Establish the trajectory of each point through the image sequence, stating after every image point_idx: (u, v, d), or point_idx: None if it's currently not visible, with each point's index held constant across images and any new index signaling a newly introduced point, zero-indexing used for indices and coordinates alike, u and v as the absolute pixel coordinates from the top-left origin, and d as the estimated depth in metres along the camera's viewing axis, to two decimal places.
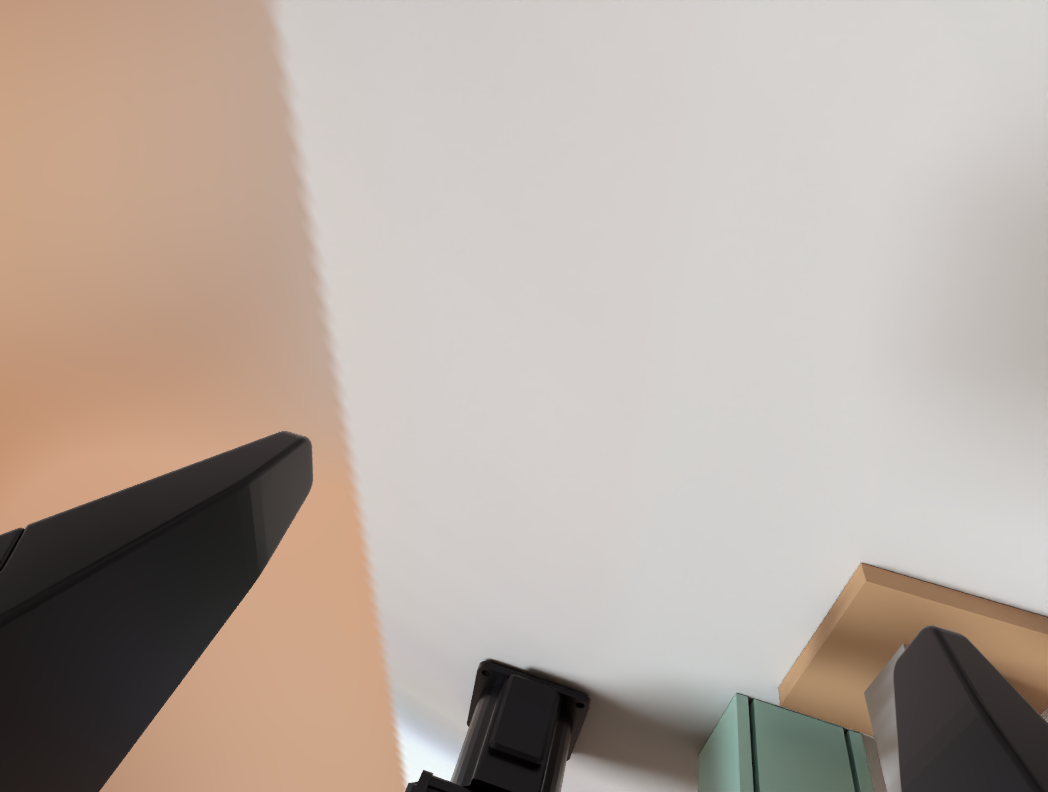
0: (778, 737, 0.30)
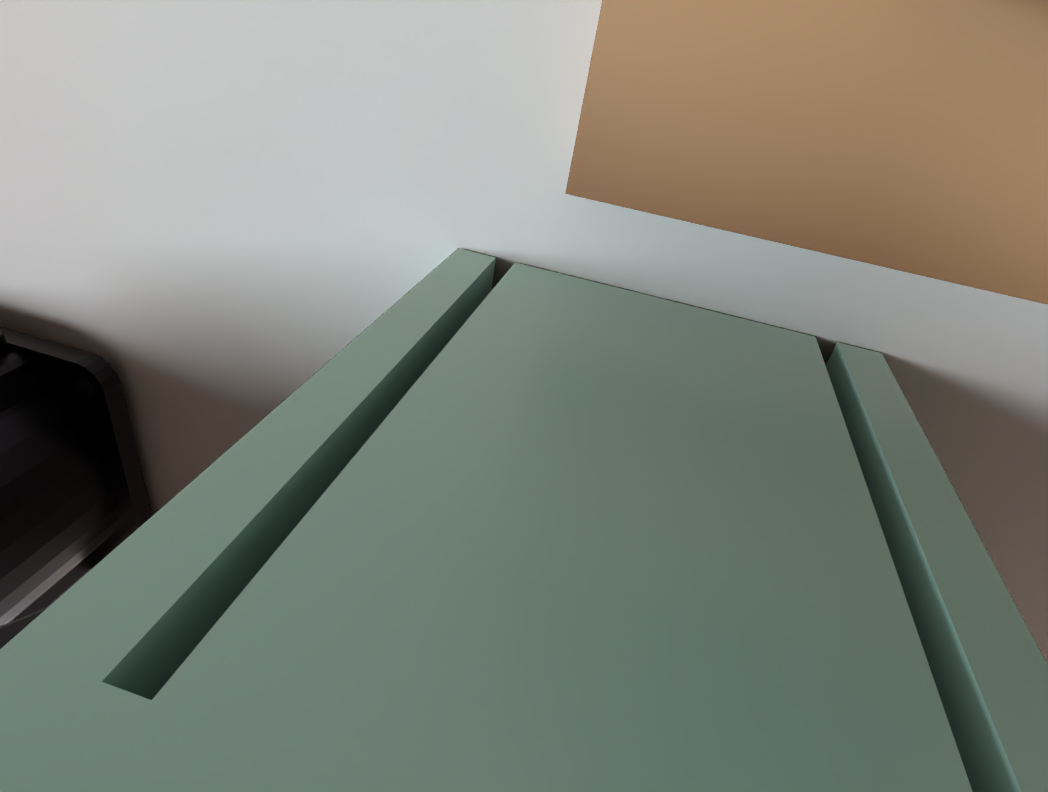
0: (562, 325, 0.08)
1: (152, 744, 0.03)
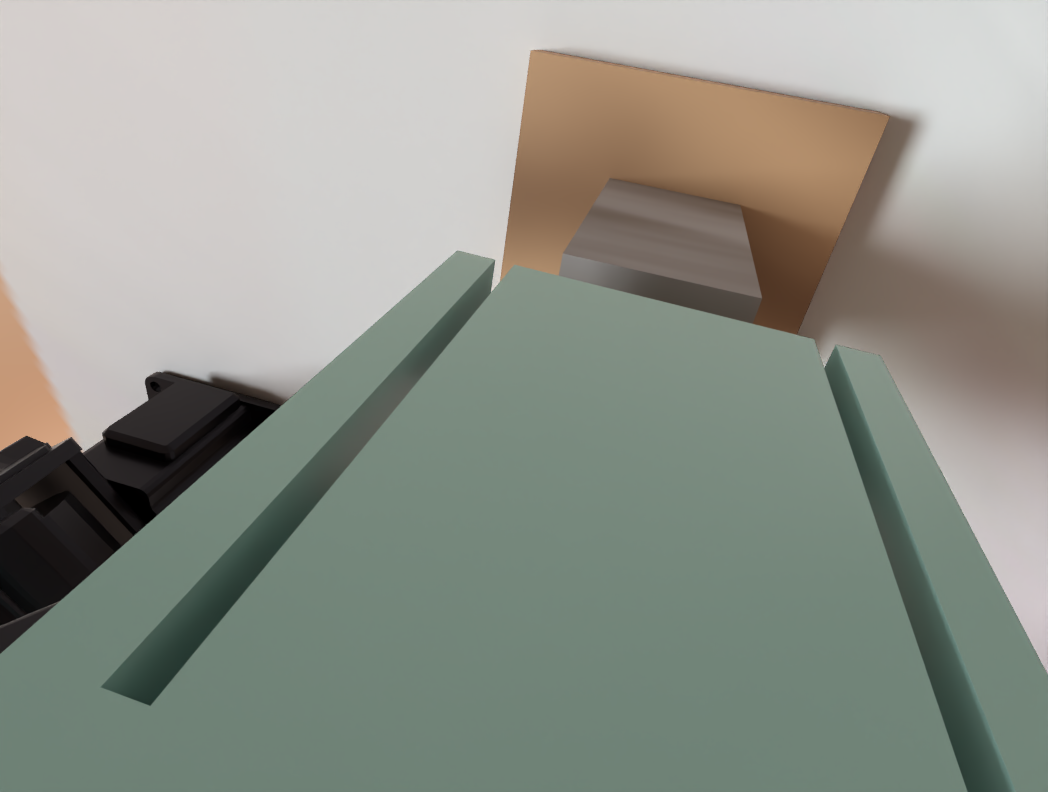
0: (561, 328, 0.08)
1: (150, 750, 0.03)
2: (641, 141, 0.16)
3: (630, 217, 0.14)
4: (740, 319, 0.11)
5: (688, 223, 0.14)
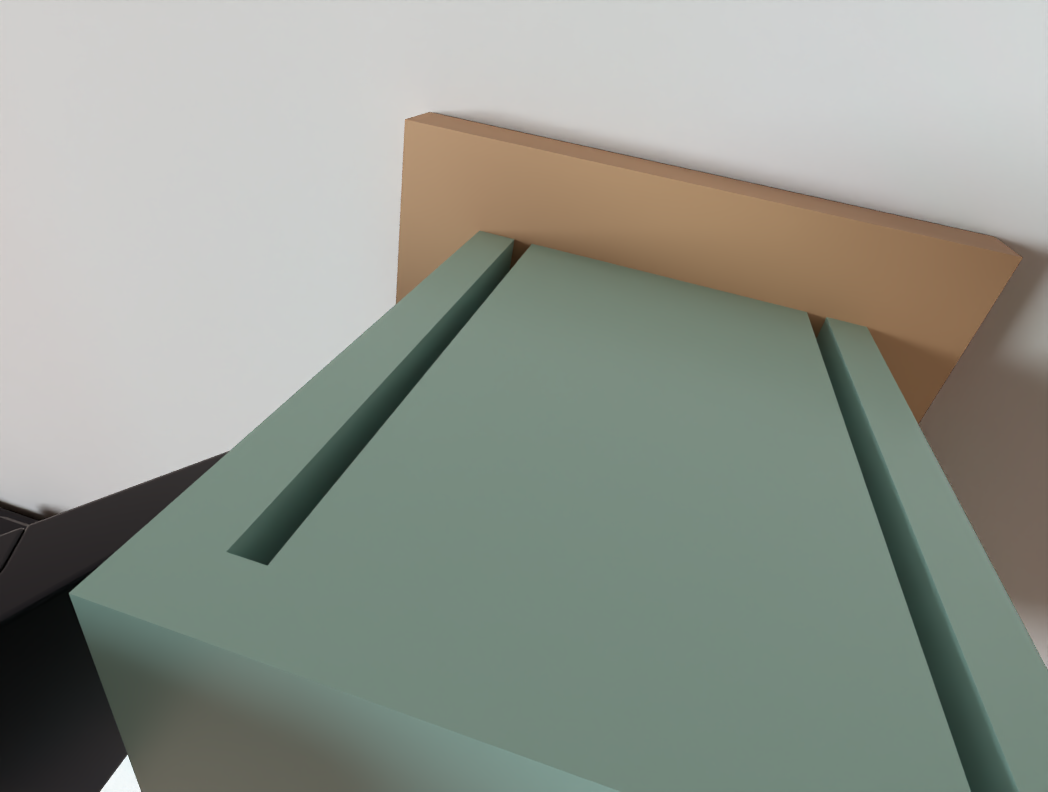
0: (578, 297, 0.08)
1: (272, 595, 0.04)
2: None
3: None
4: None
5: None
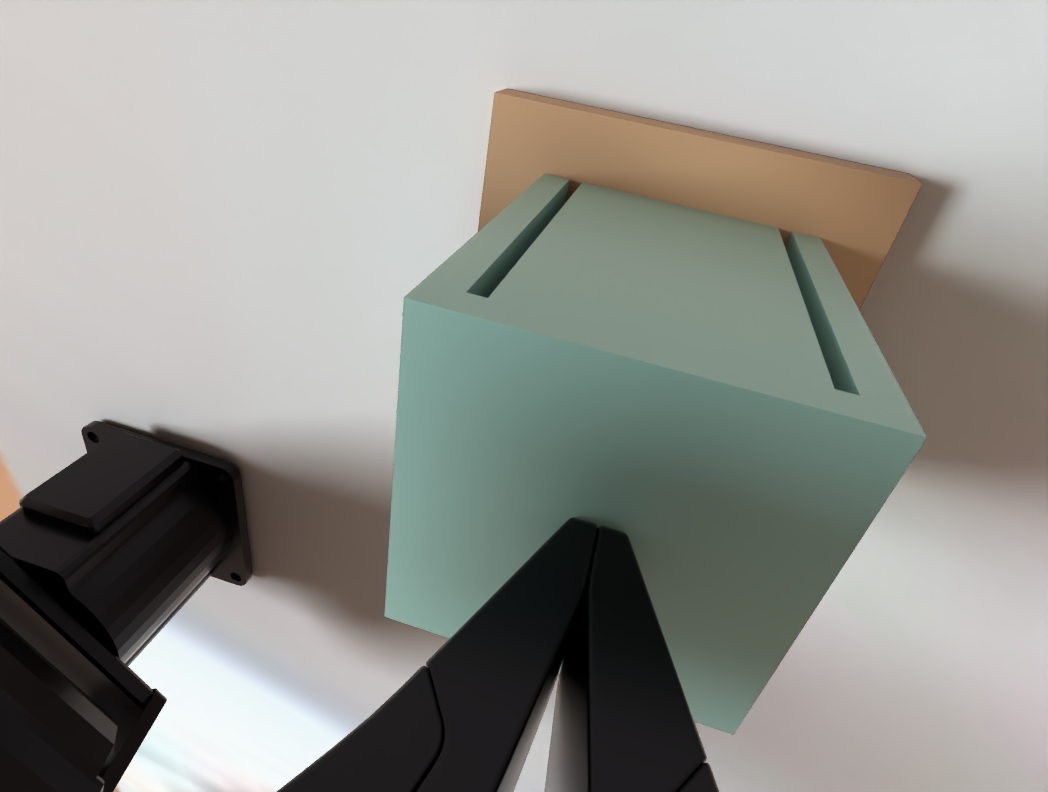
0: (620, 211, 0.12)
1: (495, 306, 0.08)
2: None
3: None
4: None
5: None
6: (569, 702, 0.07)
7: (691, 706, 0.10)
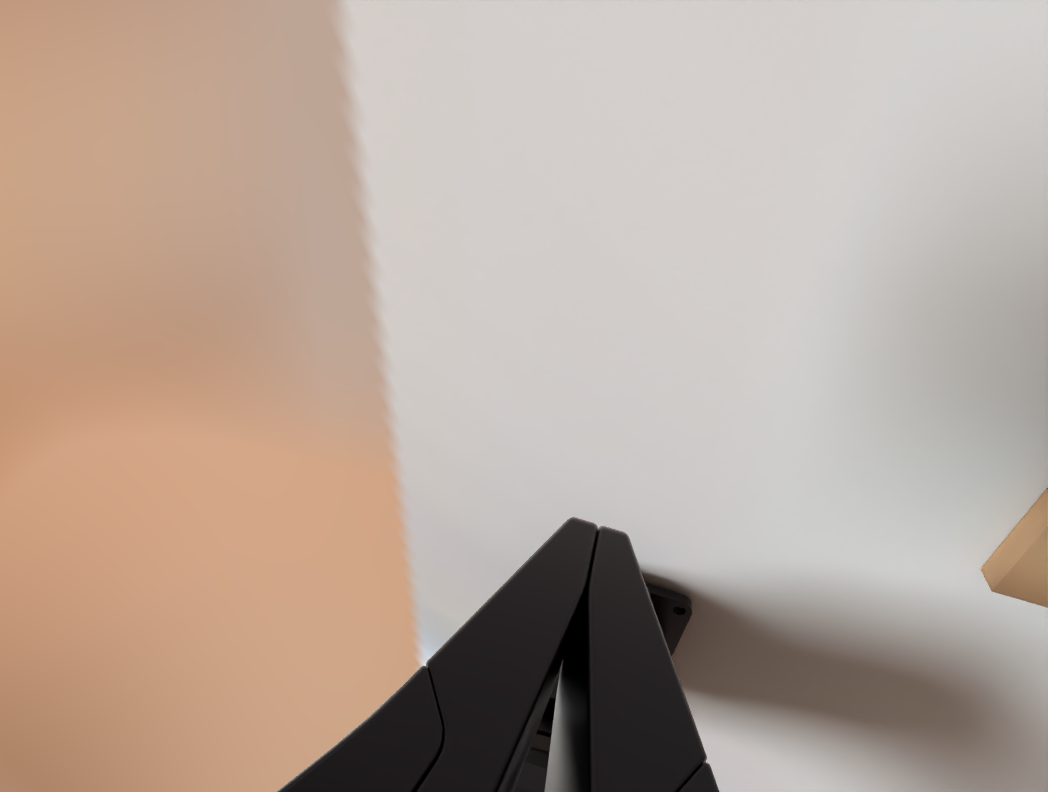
0: None
1: None
2: None
3: None
4: None
5: None
6: (569, 702, 0.07)
7: None
